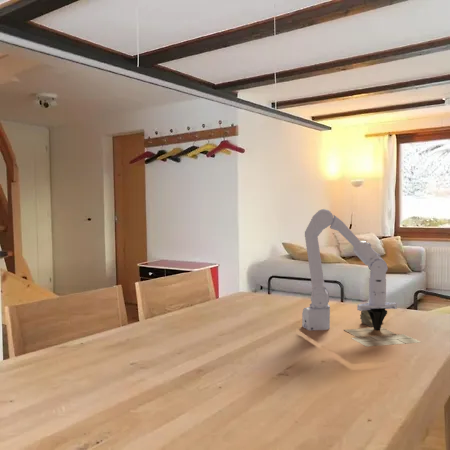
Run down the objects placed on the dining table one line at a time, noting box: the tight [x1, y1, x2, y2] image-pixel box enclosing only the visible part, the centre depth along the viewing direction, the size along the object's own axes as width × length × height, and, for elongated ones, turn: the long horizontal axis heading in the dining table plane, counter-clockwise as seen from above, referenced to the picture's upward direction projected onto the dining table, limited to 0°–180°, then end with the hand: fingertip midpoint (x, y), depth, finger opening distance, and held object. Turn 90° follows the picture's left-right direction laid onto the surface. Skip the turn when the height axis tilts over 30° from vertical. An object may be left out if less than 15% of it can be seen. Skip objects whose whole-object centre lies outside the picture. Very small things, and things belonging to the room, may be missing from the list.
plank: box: [343, 326, 396, 338], centre depth 171 cm, size 15×9×2 cm, turn 104°
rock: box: [359, 310, 374, 328], centre depth 185 cm, size 11×6×10 cm
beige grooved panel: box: [350, 333, 421, 348], centre depth 162 cm, size 20×10×2 cm, turn 104°
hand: (376, 329), depth 174 cm, fingers closed, pressing on plank
